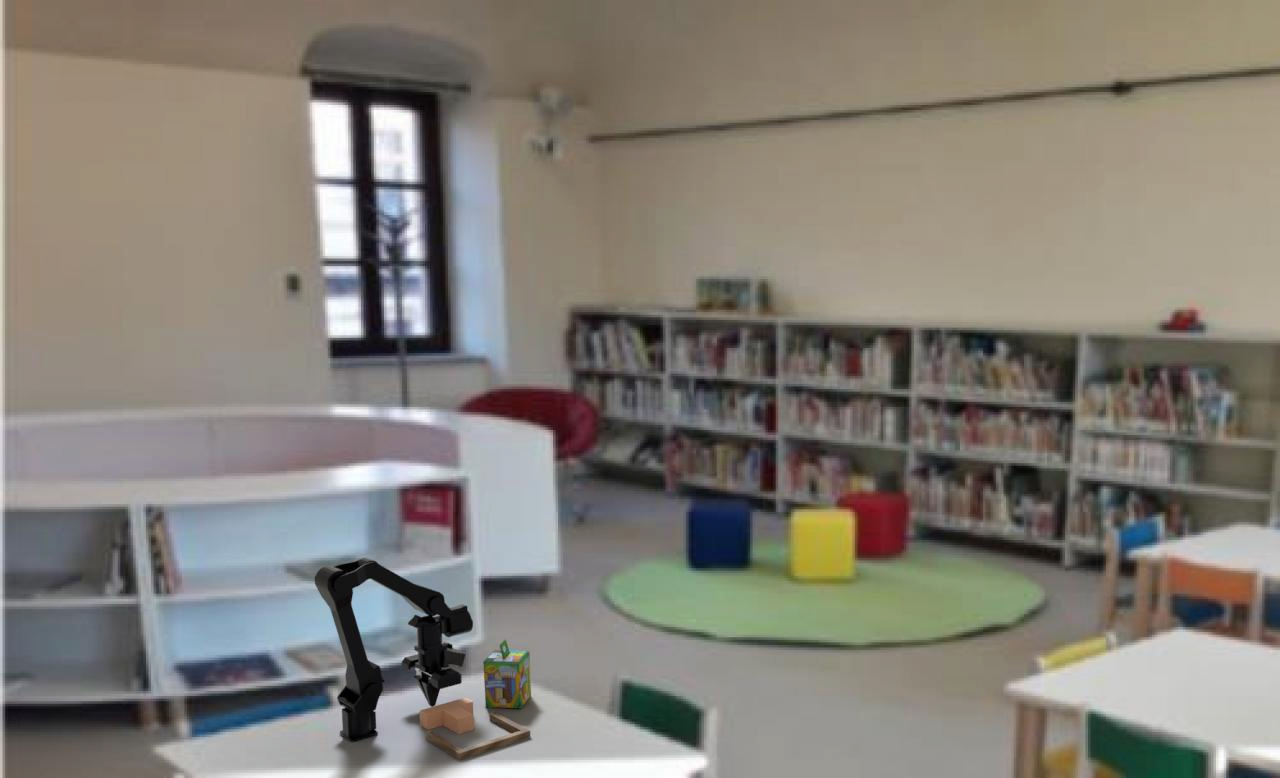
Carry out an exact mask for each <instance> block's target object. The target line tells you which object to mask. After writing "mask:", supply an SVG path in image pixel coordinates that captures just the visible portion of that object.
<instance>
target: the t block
mask: <svg viewBox="0 0 1280 778" xmlns="http://www.w3.org/2000/svg"><path fill="white" fill-rule="evenodd" d="M474 715H475V714H474V701H473V700H471V699H469V698H467V697H461V698H458V699H454V700H452V701H448V702H445V703H441V704H438V705H435V706H433V707H431V706H429V707H427V708H424V709H419V725H420V726H421V727H423V728H424V729H426V730H431V729H434V728H437V727H441V726H444V727H446V728H447V729H449V730H451V731H452V732H455V733H456V734H458V735H460V734H463V733H467V732H469V731H473V730H475V722H474V721H475V720H474V719H475V718H474Z"/></svg>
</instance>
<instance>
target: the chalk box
mask: <svg viewBox="0 0 1280 778" xmlns="http://www.w3.org/2000/svg"><path fill="white" fill-rule="evenodd" d="M504 647H505V649H504ZM482 662H483V676H484V677H483V679H484V697H485V698H484V701H485V708H498V709H499V708H502V709H503V708H504V709H522V708H523V706H524V705H525V704H526V703H527V702H528V700H529V699H530V698H531V697H532V686H531V684H532V683H531V657H530V650H529V651H528V650H516V649H510V648H509V645H508V643H507V639H503V640H502V641H501V643H500V644H499V649H494V650H493V651H492V652H491V653H490V654H489V655H488V656H487V657H486V658H484V660H483V661H482Z"/></svg>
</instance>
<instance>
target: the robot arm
mask: <svg viewBox="0 0 1280 778" xmlns="http://www.w3.org/2000/svg"><path fill="white" fill-rule="evenodd" d="M313 580H314V585H315V587H316V589H317V591H318V593H319V595H320V596H321V598H322V599H323V600H324V602H325V603H326V604H327V606H328V607H329V609H330V613H331V614H332V615H331V616H332V619H333V623H334V626H335V629H336V632H337V635H338V638H339V642H340V644H341V647H342V648H341V649H342V652H343V654H344V658H345V663H346V671H345V683H346V685H345V686H344V687H343V689H342V690H341V691H340V693H339V694H338V695H337V697H336V699H337V702H338V704H339V705H340V706H342V707H343V708H341V718H342V720H341V721H342V730H339V735H341V736H343V737H344V738H345V739H347V740H349V742H355V741H359V740H363V739H366V738H370V737H372V736H376V735H378V734H379V731H377V730H376V729H377V714H376V709H377V705H378V702H379V699H380V696H381V694H382V693H383V691H384V685H383V684H384V683H385V682H386V681H385V679H384V678H383V676H382V670H381V666H380V665H378V664H376V663H374V662H372V661H371V660H368V656H367V655H368V654H367V653H366V649H365V646H364V643H363V640H362V636H361V633H360V629H359V626H358V622H357V619H356V616H355V612H354V610H353V605H352V601H353V597H354V596H353V595H354V588H357V587H359V586H361V585H362V584H364V583H365V582H366V581H368V580H370V581H373V582H374V583H376V584H379V585H381V586H382V587H384V588H386V589H388V590H390V591H391V592H393V593H395V594H397V595H398V596H400V597H402V598H403V599H404V601H405V602H406V603H408V605H410V607H412V608H413V609H414V610H416V611H418V612H420V613H423V614H426V615H424V616H420V615H417V614H414V615H413V617H412V618H411V619H410V620H409V621H408V623H407V624H408V626H411V627H413V628H415V629H416V632H417V633H416V636H417V645H414V647H413V648H414V650H413V651H416V652H417V654H413V655H409V656H405V657H404V658H403V660H402V661H401V670H403V671H404V672H406V673H409V672H410V671H411V668H414V667H415V668H414V670H415V674H416V675H414V676H413V679H414V680H415V682H416V683H417V685H418V686H419V688H420V690H421V692H422V693H423V696H424V698H425V699H426V702H427V703H428V706H429V707H434V706H437V705H436V704H437V701H438V698H439V693H440V691H441V690H443V689H445V688H446V689H447V688H449V687H453V686H457V685H460V684H462V683H463V680H462V678H463V677H462V674H461V673H460V672H459V671H457V670H456V669H454V668H451V667H450V665H451V666H458V667H461V668H462V667H463V666H464V663H465V659H466V655H467V653H466V652H464V651H461V650H460V649H457V648H453V644H451V643H450V642H444V641H443V635H444V636H445V638H451V637H455V636H460V635H463V634H467V633H470V632H472V629H473V627H474V621H473V618H472V616H471V614H470V611H468V605H465V604H459V605H456V606H453V607H449V606H448V604H446V601H445V595H444V594H443V593H442V592H440V591H437V590H434V589H432V588H429V587H426V586H423V585H420V584H417V583H413V582H412V581H410V580H407V578H404V577H402V576H400V575H399V574H397V573H395V572H393V571H392V570H390V569H389V568H386V567H385V566H383V565H380V563H378V562H377V560H374V559H371V558H368V557H361V558H359V559H357V560H354V561H350V562H344V563H338V564H336V565H334V566H332V565H325V566H322V567H321V568H320V569H318V571H317V572H316V575H315V576H314V579H313ZM448 667H449V668H448ZM444 668H445V669H444Z"/></svg>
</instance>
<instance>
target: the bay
mask: <svg viewBox="0 0 1280 778" xmlns="http://www.w3.org/2000/svg"><path fill="white" fill-rule="evenodd" d="M489 720H490V721H491V722H493V723H494V722H495V724H496V723H497V724H496V725H498V724H499V725H498V726H500V727H502V728H504V729H506V730H507V731H509V732H511V733H508V734H505V735H502V736H499V737H496V738H493V739H489V740H487V741H483V742H480V743H478V744H474V745H471V746H467V747H464V748H461V747H460V746H457V745H456V744H454V743H453V742H451V741H449V740H447V739H446V738H444V737H442V736H441V735H440V734H438V733H436V732H434V731H432V730H430V731H429V732H426V734H425V735H426V739H425V740H427V741H428V742H430V743H431V744H433V745H435V746H436V747H438V748H439V749H441V750H442V751H444V752H446V753H447V754H449V755H450V756H451V757H454V758H455V759H457V760H459V761H462V760H464V759H468V758H470V757H473V756H476V755H480V754H483V753H486V752H489V751H492V750H495V749H498V748H502V747H504V746H507V745H511V744H513V743H517V742H520V741H523V740H526V738H527V739H530V738H531V730H530V729H528V728H526V727H524V726H522V725H520V724H519V723H517V722H515V721H512V720H511V719H509V718H508V717H506V716H504V715H502V714H500V713H498V712H496V711H495V712H492V713H489Z"/></svg>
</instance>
